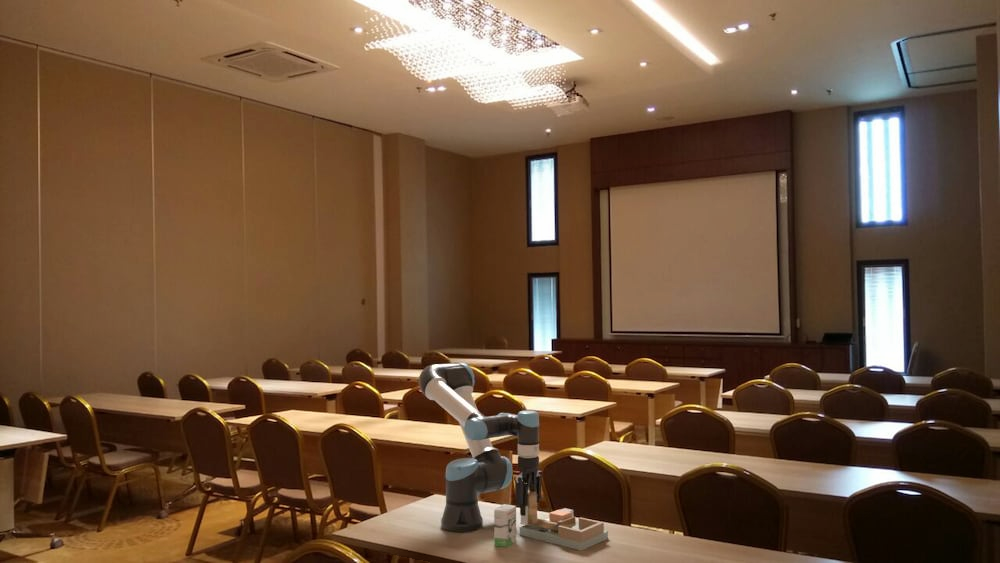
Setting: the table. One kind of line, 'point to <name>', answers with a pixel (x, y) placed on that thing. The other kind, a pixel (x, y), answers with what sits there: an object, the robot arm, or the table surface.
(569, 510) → the grey block
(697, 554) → the table surface
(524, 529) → the grey sorting tray
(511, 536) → the ink box
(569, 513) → the block
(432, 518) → the table surface
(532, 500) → the crook
